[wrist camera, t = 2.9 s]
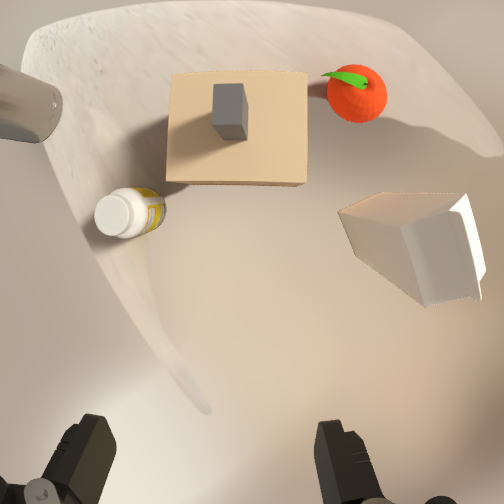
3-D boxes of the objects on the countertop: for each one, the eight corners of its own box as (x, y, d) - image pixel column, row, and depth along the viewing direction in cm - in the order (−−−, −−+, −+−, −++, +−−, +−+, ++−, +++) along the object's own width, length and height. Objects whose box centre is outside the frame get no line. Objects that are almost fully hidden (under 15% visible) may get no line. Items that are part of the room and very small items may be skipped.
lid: (168, 181, 27) (139, 178, 21) (173, 76, 25) (149, 48, 19) (305, 183, 27) (317, 179, 20) (306, 75, 25) (316, 43, 18)
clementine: (307, 113, 35) (315, 95, 28) (321, 66, 34) (332, 41, 27) (368, 136, 35) (389, 125, 28) (381, 89, 34) (402, 70, 27)
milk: (355, 256, 38) (443, 328, 16) (336, 210, 37) (418, 234, 15) (397, 236, 37) (512, 282, 15) (379, 190, 36) (494, 193, 14)
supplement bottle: (121, 198, 38) (81, 201, 28) (157, 180, 37) (123, 176, 27) (137, 238, 38) (100, 251, 29) (174, 221, 38) (144, 230, 28)
